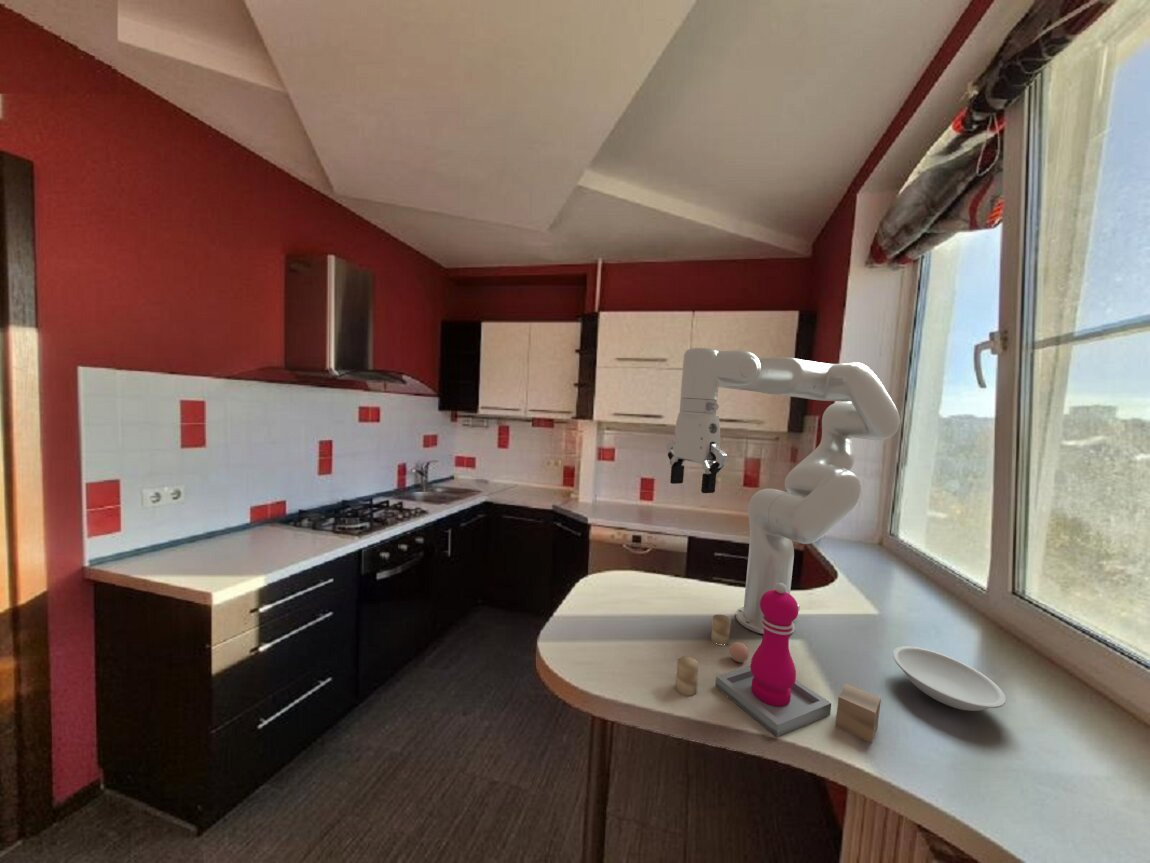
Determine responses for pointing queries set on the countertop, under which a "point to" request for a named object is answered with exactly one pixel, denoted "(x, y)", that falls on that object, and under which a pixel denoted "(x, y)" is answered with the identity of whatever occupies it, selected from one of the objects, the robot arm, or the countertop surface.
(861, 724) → the walnut block
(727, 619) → the cork
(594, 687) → the countertop surface
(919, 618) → the countertop surface
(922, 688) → the dish
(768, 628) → the pepper mill
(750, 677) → the tray
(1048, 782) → the countertop surface
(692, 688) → the cork
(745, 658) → the ball
